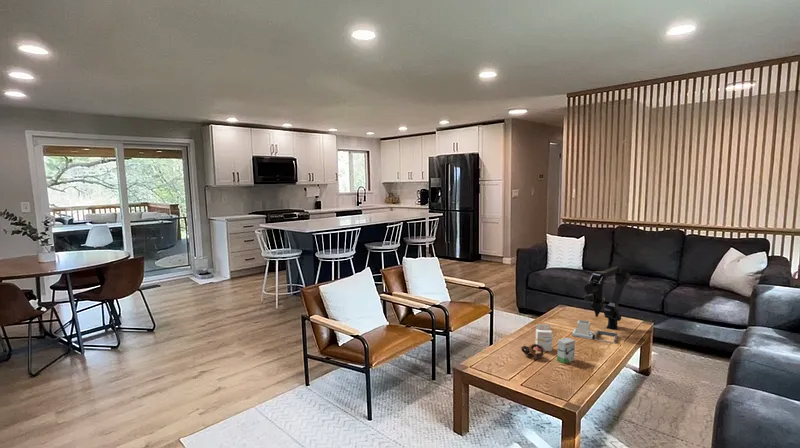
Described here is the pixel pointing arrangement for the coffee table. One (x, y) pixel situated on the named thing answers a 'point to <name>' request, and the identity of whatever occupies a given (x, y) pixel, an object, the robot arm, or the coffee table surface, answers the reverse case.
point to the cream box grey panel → (583, 327)
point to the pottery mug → (532, 351)
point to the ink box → (566, 350)
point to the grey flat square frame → (606, 334)
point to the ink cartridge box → (543, 337)
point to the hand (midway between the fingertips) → (597, 314)
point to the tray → (583, 335)
